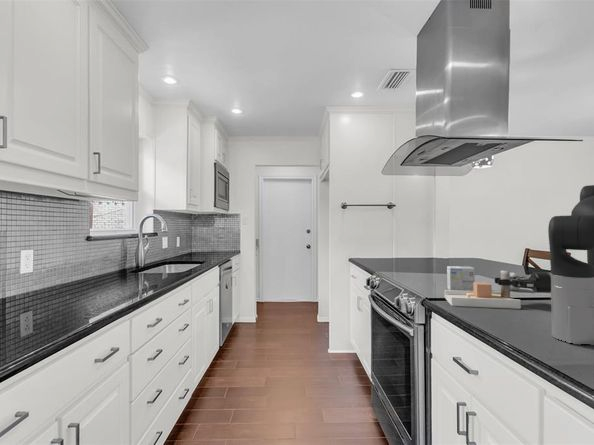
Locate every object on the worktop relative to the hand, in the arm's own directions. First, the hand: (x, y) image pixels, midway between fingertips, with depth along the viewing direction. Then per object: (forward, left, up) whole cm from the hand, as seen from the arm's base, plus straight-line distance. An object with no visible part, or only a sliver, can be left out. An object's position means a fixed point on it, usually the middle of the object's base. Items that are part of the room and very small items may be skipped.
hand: (496, 281), depth 126 cm
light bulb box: (+24, +8, -9) cm, 27 cm away
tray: (0, +6, -8) cm, 10 cm away
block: (0, +5, -6) cm, 8 cm away
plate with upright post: (0, +3, -7) cm, 7 cm away
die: (+28, -14, -9) cm, 33 cm away
